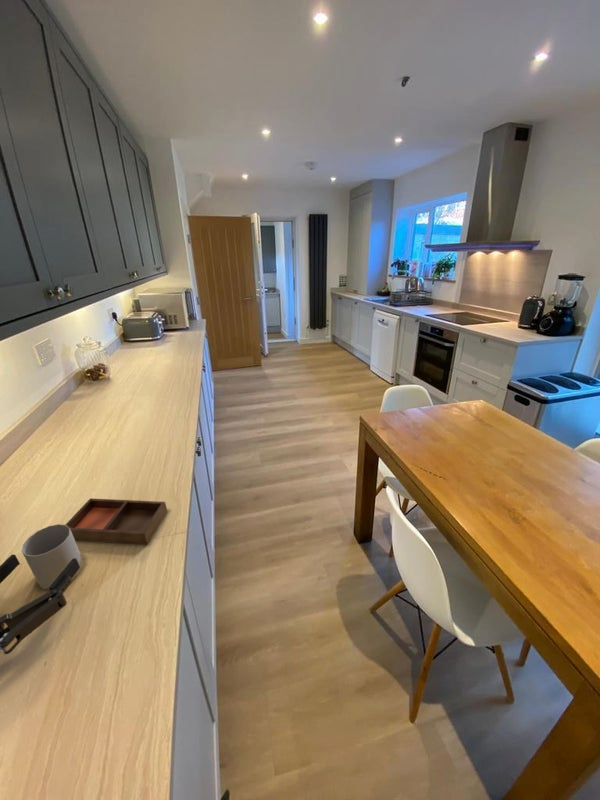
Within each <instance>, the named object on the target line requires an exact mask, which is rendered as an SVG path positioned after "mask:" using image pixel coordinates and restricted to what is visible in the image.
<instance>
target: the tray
mask: <svg viewBox="0 0 600 800" xmlns="http://www.w3.org/2000/svg"><path fill="white" fill-rule="evenodd" d="M166 503H167V502H166V501H156V500H132V499H109V498H93V497H91V498H89V499H88V500H87V501H86V502H85V503H83V505H82V506H81V507H80V509H79V510H78V511H77V512H76V513H75V514H74V515H73V516H72V517H71V518H70V519H69V520H68V521H67V522H66V523H65V524H64V525H67V526H68V527H69V528H70V530H71V532H72V535H73V537H74V540H75V542H76V541H78V542H96V543H97V542H98V543H113V544H130V545H131V544H133V545H149V544H150V541H151V540H152V538H153V536H154V535H155V533H156V532H157V530H158V528H159V526H160V525H161V523H162V521H163V520H164V518H165V517H166V515H167V513H168V507H167V504H166Z"/></svg>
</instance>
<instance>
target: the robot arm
mask: <svg viewBox="0 0 600 800" xmlns="http://www.w3.org/2000/svg"><path fill="white" fill-rule="evenodd" d="M19 565H21V563H20V561H19V559H18V558H17V555H16V554H11V555H10V556H9V557H8V558H6V560H4V562H2V563H1V565H0V584H2V583H3V581H5V579H7V578H8V577H9V575H11V573H12V572H13V571H15V570H16V568H18V566H19ZM79 568H80V566H79V564H78V561H77V559H75V558H73V559H72V560H71V561H70V563H69V564H68V565H67V566H66V567H65V569H64V570H63V571H62V572H61V574H60V575H59V576H58V577H57V578H56V580H55V581H54V582H53V583H52V584H51V586H50V587H49V589H48V590H49V591H48V592H46V593H44V594H42V595H41V596H39V597H37V598H35V599H34V600H31V601H30V602H28V603H27V604H25V605H23V606H21V607H19V608H18V609H16V610H14V611H13V612H11V613H4V614H3V615H2V616H0V650H1V651H2V652H3V654H4V655H9V654H11V653H12V652H13V651H14V650H15V649H16V648H17V647H18V646H19V644H20V643H21V642H22V641H23V640H24V639H25V638H27V637H28V636H29V635H31V634H32V633H34V631H35V630H37V629H38V628H40V627H41V626H42V625H44V623H46V622H47V621H48V620H49V619H51V618H52V617H53V616H55V615H56V614H57V613H58V612H59V611H61V609H63V608H64V607H65V606H66V605H67V604H68V602H67V599H66V597H65V595H64V593H65V592H66V590H67V589H68V588H69V586H70V585H71V584H72V582H73V579H72V577H73V576H74V575H75V574H76V572H77V571H78V570H79ZM5 625H6V627H5Z"/></svg>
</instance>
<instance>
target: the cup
mask: <svg viewBox="0 0 600 800" xmlns="http://www.w3.org/2000/svg"><path fill="white" fill-rule="evenodd" d="M21 553H22V555H23V557H24V559H25V561H26V563H27V565H28V567H29V569H30V570H31V572H32V575H33V576H34V579H35V580H36V582H37V584H38V586H39V587H40V588H41V589H43V590H50V589H49V587H50V586H51V584H52V583H53V582H54V581H55V580H56V578H57V577H58V576H59V575H60V574H61V572H62V571H63V570H64V569H65V567H66V566H67V565H68V564H69V563H70V561H71V560H72V559H73V558H75V559H77V561H78V564H79V566H80V568H79V570H78V571H77V572H76V574H75V575H74V576H73V577H72V580H74V579H75V578H76V577H77V576H78V575H79V574H80V573H81V570H82V569H83V567H84V559H83V556H82V554H81V552H80V550H79V547H78V544H77V542H76V540H74V537H73V535H72V532H71V530H70V528H69V527H68V526H67V525H65V524H61V523H58V524H53V525H52V524H51V525H49V526H46V527H44V528H41V529H39V530H37V531H36V532H34V533H33V534H32V535H30V536H29V537H28V538H27V539H26V540H25V541H24V542H23V544H22V547H21Z"/></svg>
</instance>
